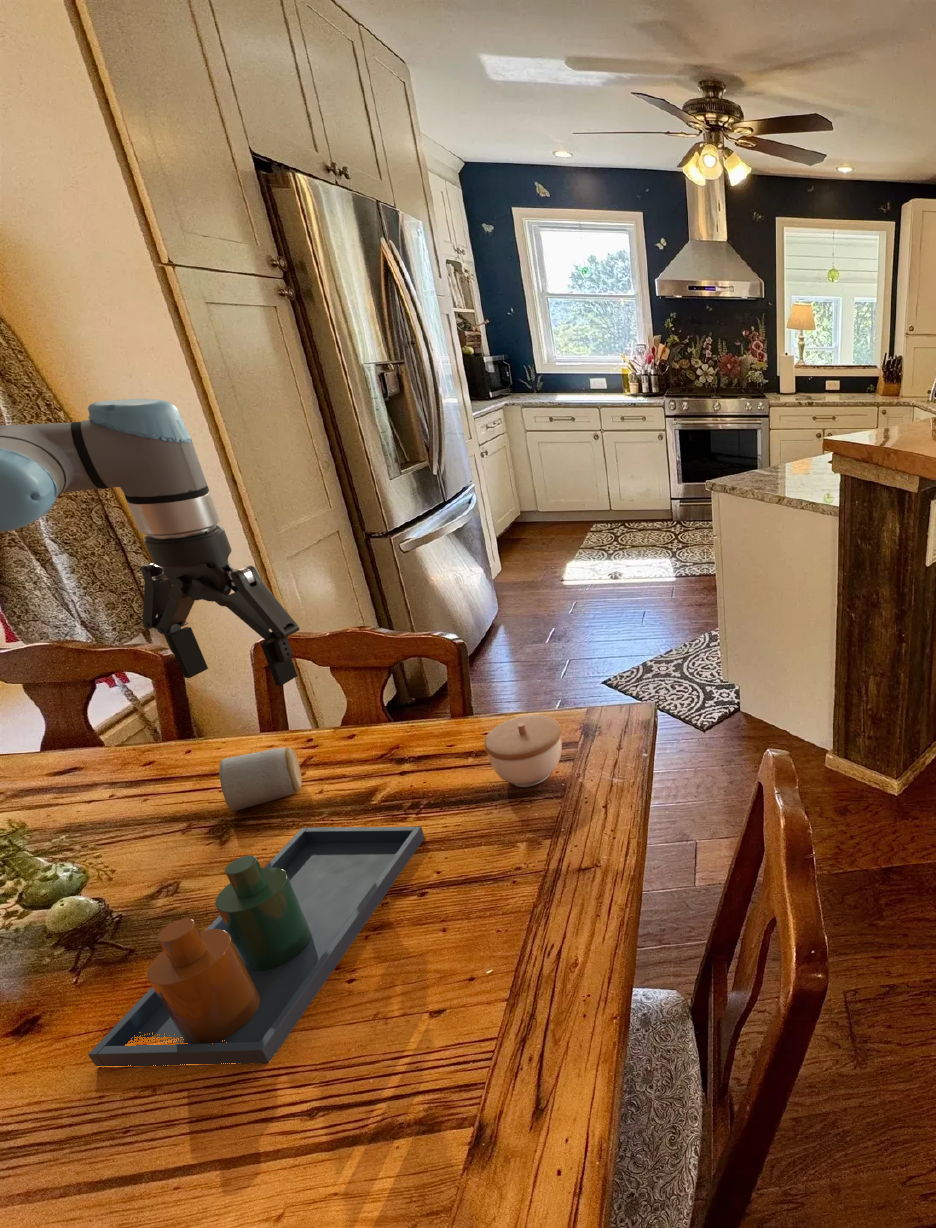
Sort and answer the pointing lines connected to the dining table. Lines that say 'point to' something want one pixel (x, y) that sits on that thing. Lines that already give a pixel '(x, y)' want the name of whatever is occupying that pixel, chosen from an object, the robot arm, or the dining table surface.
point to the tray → (335, 912)
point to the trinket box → (525, 749)
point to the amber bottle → (202, 982)
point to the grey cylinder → (259, 777)
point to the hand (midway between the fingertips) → (241, 677)
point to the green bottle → (262, 914)
